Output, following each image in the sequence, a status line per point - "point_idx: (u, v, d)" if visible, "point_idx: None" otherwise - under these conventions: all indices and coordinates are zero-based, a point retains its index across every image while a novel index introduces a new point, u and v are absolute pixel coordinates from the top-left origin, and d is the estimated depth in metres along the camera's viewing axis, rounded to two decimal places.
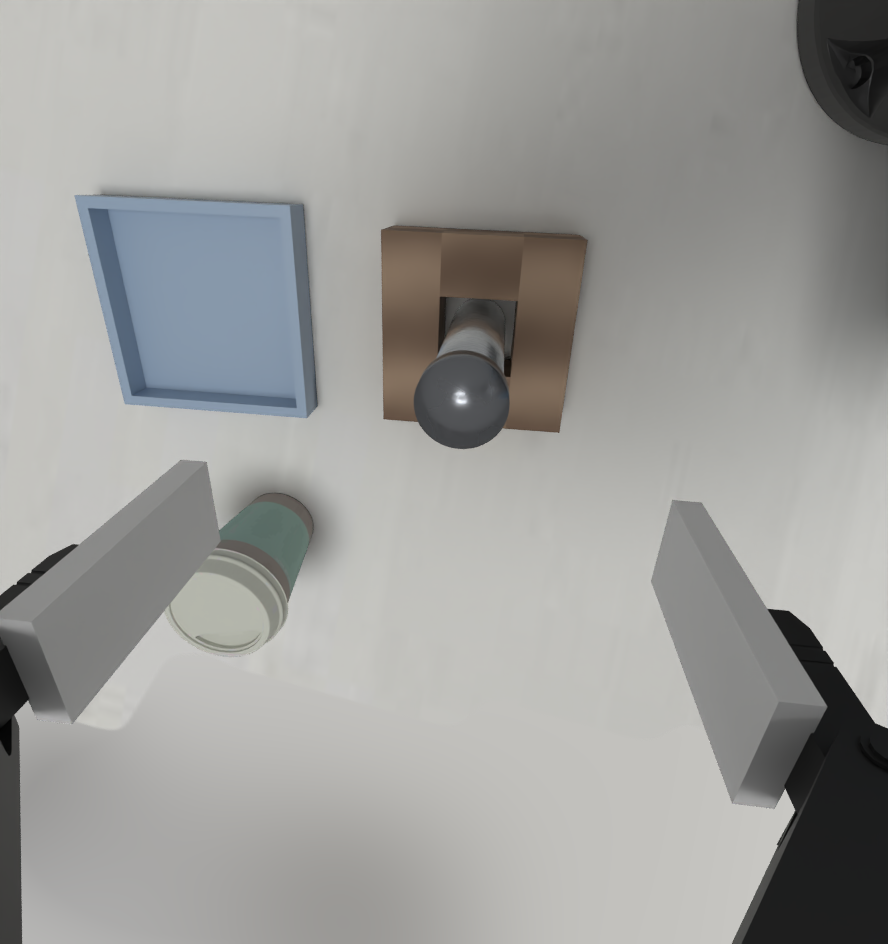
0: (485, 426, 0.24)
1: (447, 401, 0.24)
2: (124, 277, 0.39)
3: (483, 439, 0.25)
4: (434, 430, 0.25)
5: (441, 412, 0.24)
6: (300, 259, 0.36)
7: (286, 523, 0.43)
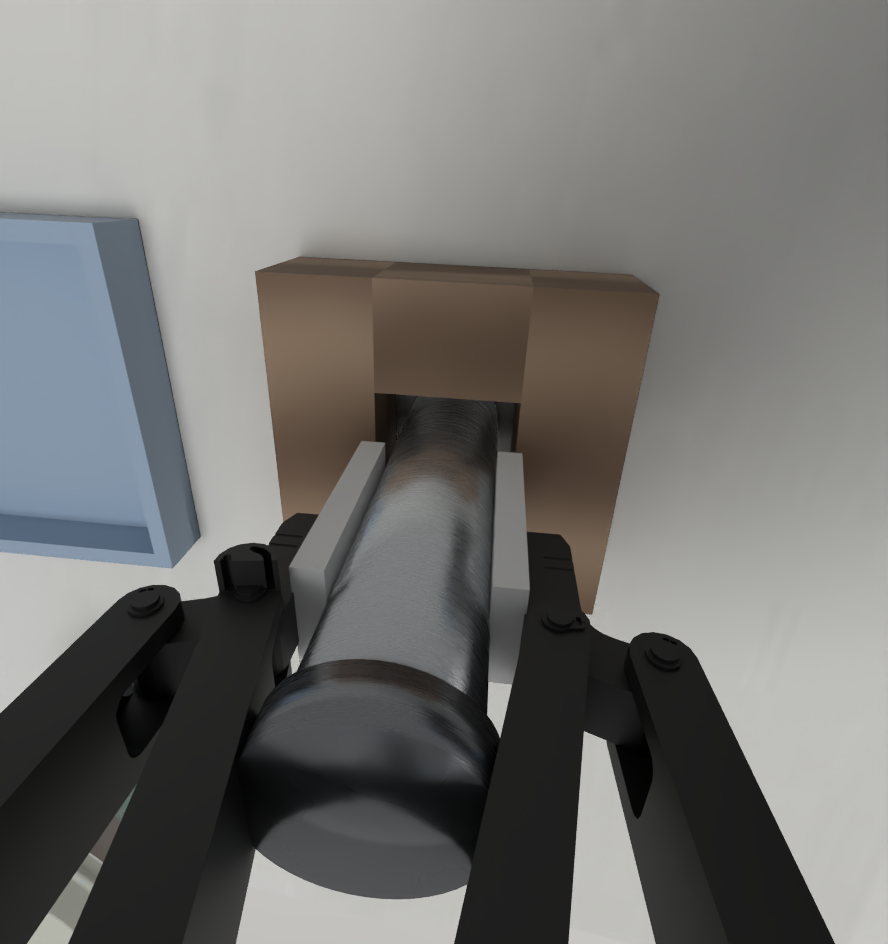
0: (435, 866, 0.09)
1: (322, 812, 0.08)
2: None
3: (432, 887, 0.09)
4: (296, 861, 0.09)
5: (311, 832, 0.09)
6: (135, 316, 0.21)
7: None
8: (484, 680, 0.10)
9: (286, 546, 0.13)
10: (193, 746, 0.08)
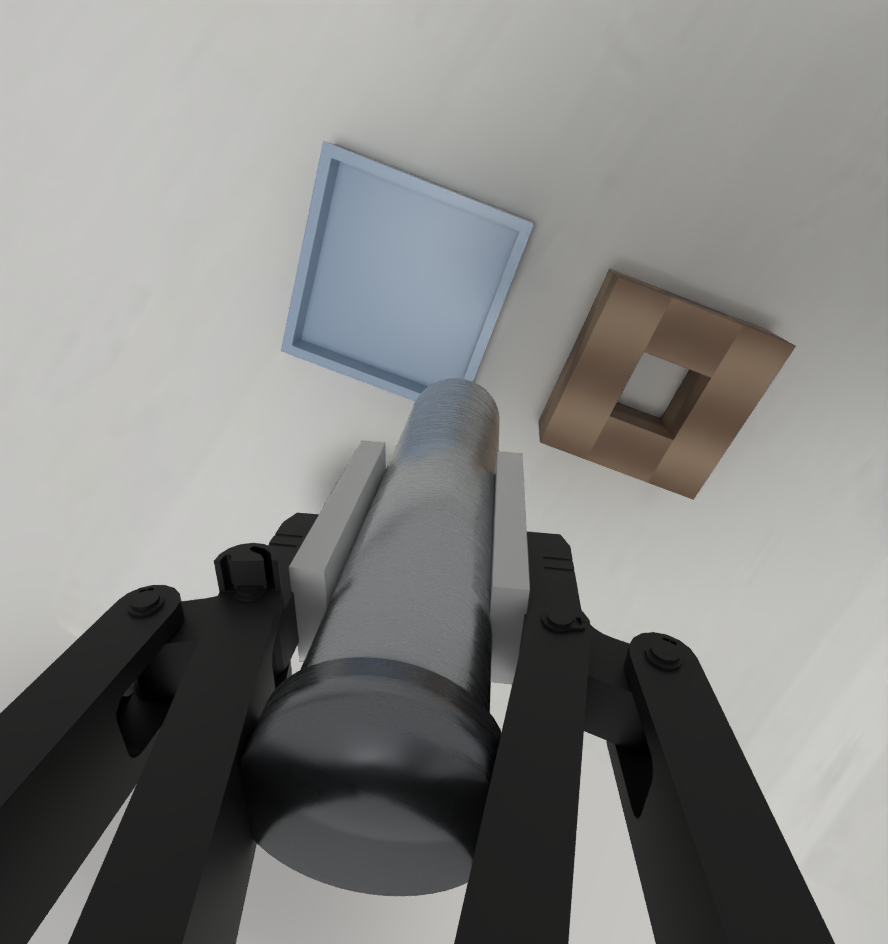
0: (438, 863, 0.09)
1: (326, 809, 0.08)
2: (327, 230, 0.38)
3: (435, 884, 0.09)
4: (300, 858, 0.09)
5: (314, 829, 0.09)
6: None
7: None
8: (487, 678, 0.10)
9: (286, 546, 0.13)
10: (193, 746, 0.08)
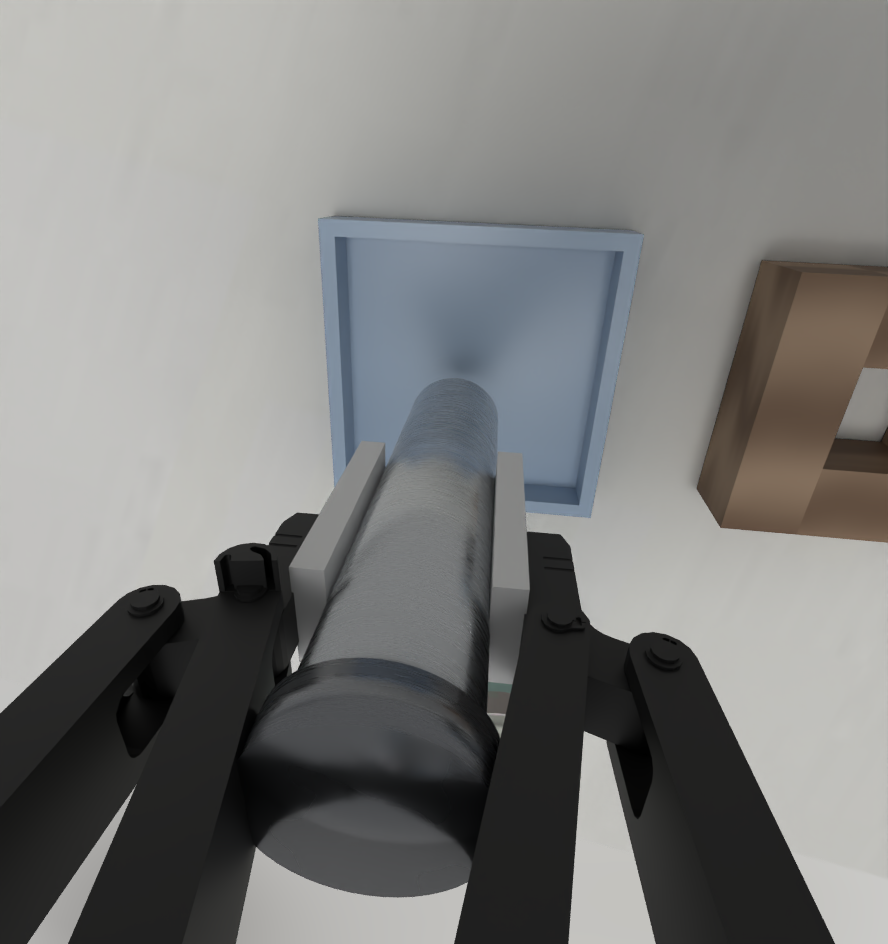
0: (435, 864, 0.09)
1: (323, 810, 0.08)
2: (352, 328, 0.28)
3: (432, 885, 0.09)
4: (296, 859, 0.09)
5: (310, 830, 0.09)
6: None
7: None
8: (484, 679, 0.10)
9: (286, 546, 0.13)
10: (193, 746, 0.08)
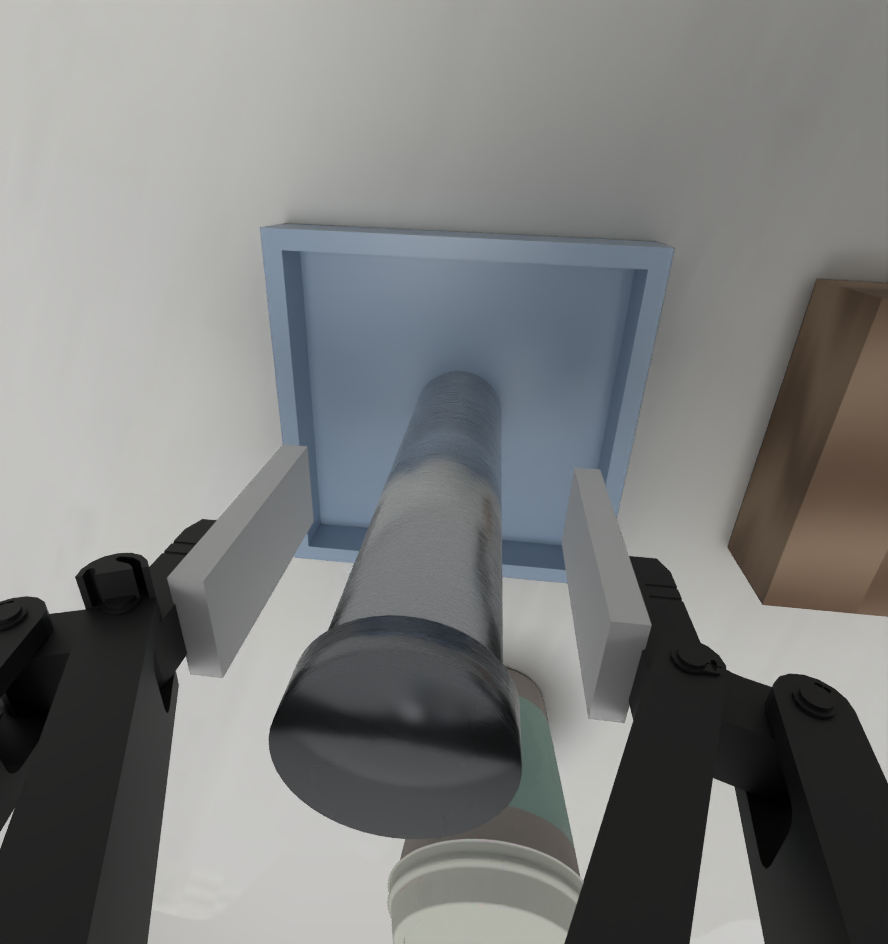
0: (459, 805, 0.09)
1: (357, 754, 0.09)
2: (312, 360, 0.23)
3: (455, 826, 0.10)
4: (330, 804, 0.10)
5: (345, 775, 0.09)
6: None
7: (538, 735, 0.27)
8: (500, 641, 0.11)
9: (181, 554, 0.13)
10: (74, 763, 0.08)
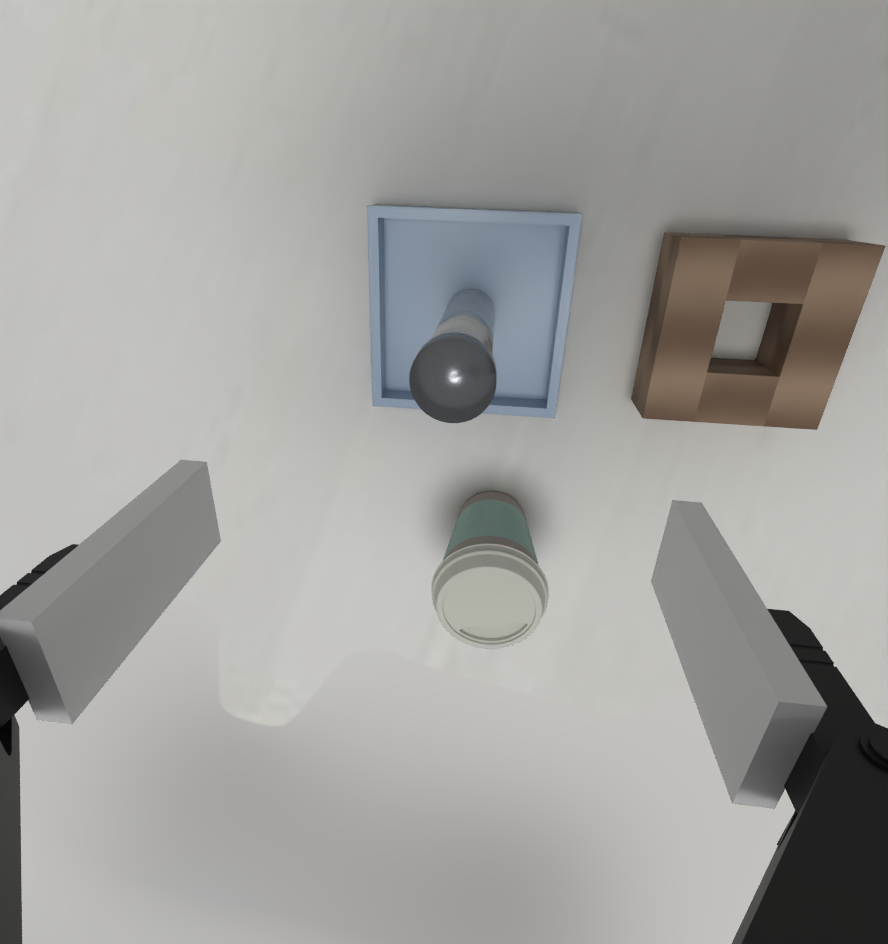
0: (474, 401, 0.27)
1: (440, 379, 0.26)
2: (386, 283, 0.40)
3: (473, 413, 0.27)
4: (428, 406, 0.27)
5: (435, 389, 0.27)
6: None
7: (519, 519, 0.45)
8: None
9: None
10: None
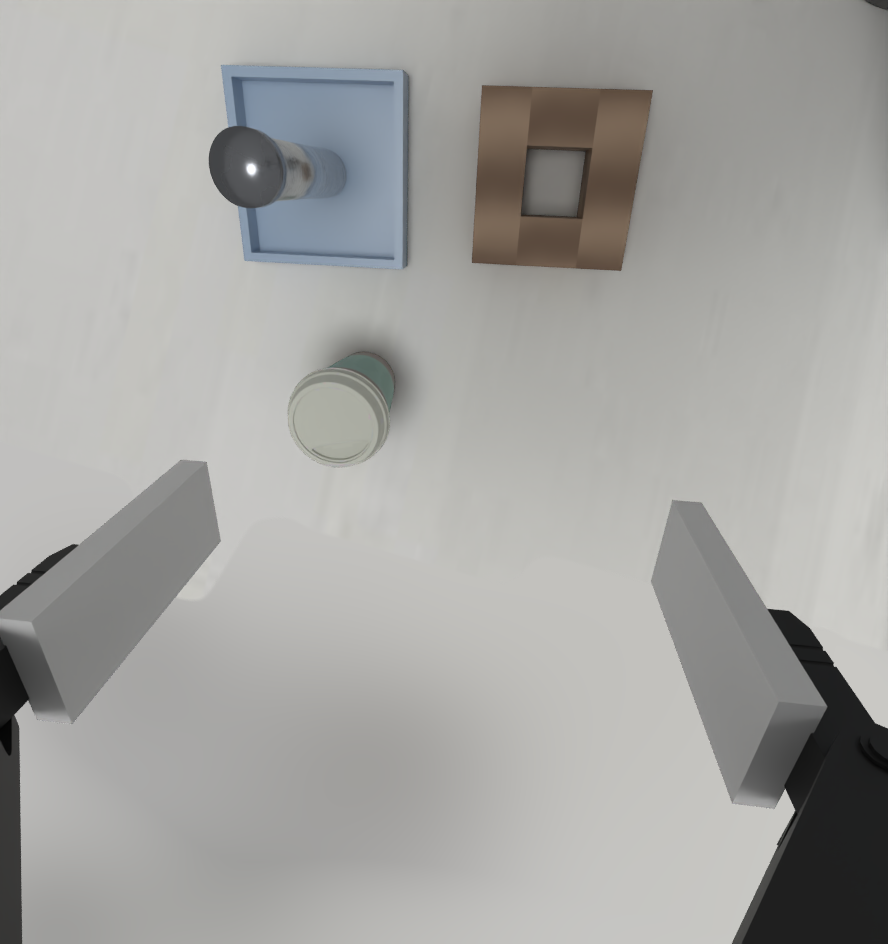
0: (264, 186, 0.32)
1: (233, 165, 0.32)
2: None
3: (265, 198, 0.33)
4: (228, 192, 0.33)
5: (231, 176, 0.32)
6: (405, 123, 0.44)
7: (379, 368, 0.50)
8: (286, 160, 0.34)
9: None
10: None
